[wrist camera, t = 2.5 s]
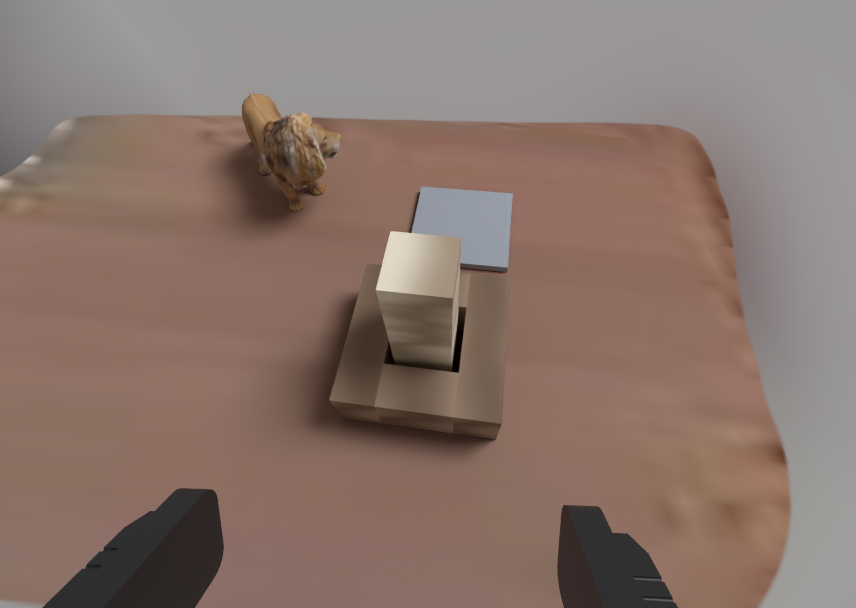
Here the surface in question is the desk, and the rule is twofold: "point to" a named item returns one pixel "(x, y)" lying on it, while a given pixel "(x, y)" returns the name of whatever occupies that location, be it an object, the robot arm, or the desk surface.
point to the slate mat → (468, 223)
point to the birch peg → (421, 299)
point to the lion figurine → (288, 146)
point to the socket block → (425, 388)
